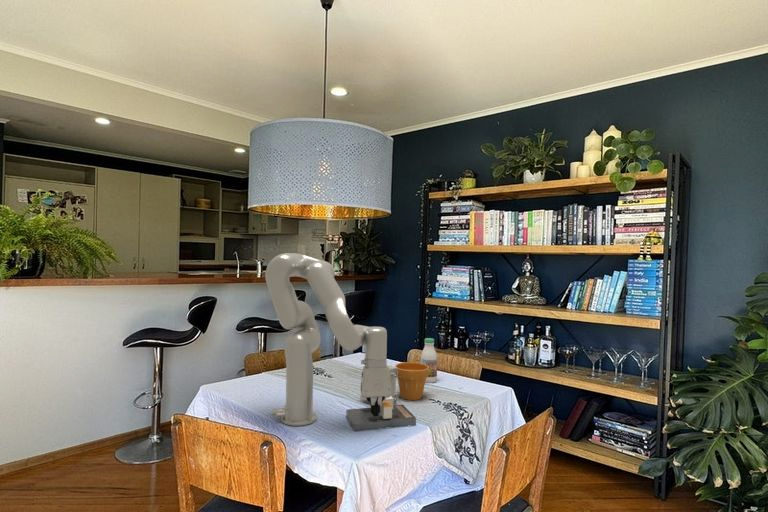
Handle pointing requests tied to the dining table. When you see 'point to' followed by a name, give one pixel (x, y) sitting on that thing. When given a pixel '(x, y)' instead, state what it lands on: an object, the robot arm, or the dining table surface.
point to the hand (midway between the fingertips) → (375, 415)
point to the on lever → (389, 400)
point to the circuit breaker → (392, 384)
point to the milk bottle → (430, 360)
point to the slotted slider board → (379, 418)
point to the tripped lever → (386, 410)
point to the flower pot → (412, 379)
